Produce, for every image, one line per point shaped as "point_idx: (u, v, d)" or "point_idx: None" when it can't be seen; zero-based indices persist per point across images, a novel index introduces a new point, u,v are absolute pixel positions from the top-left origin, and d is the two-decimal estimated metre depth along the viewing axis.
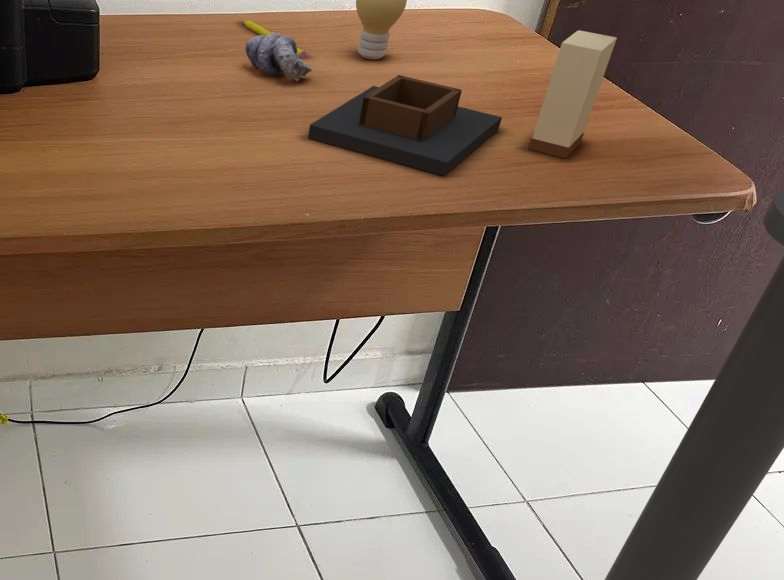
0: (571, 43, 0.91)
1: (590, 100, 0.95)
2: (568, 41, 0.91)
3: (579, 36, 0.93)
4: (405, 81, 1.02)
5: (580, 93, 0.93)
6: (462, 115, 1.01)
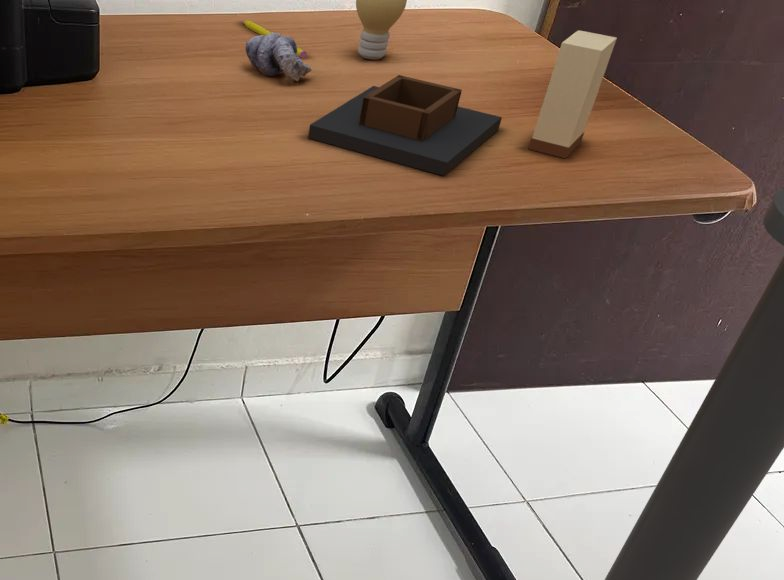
0: (571, 43, 0.91)
1: (590, 100, 0.95)
2: (568, 41, 0.91)
3: (579, 36, 0.93)
4: (405, 81, 1.02)
5: (580, 93, 0.93)
6: (462, 115, 1.01)
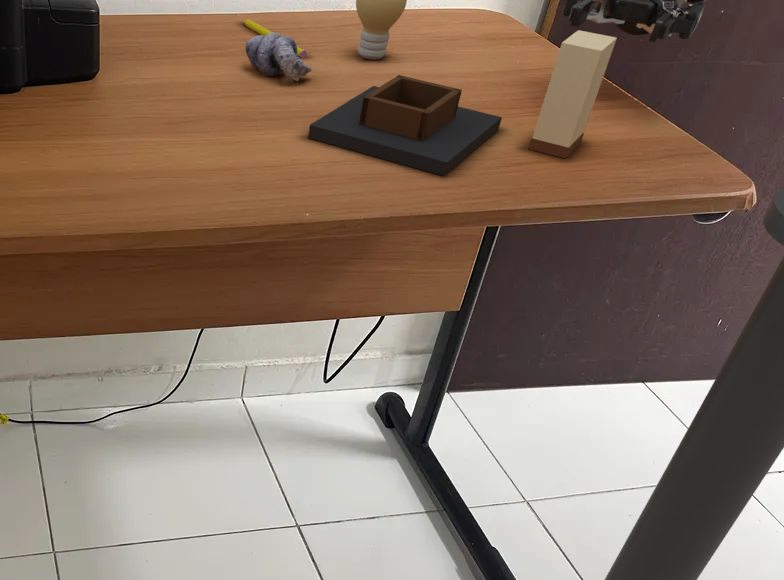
0: (571, 43, 0.91)
1: (590, 100, 0.95)
2: (568, 41, 0.91)
3: (579, 36, 0.93)
4: (405, 81, 1.02)
5: (580, 93, 0.93)
6: (462, 115, 1.01)
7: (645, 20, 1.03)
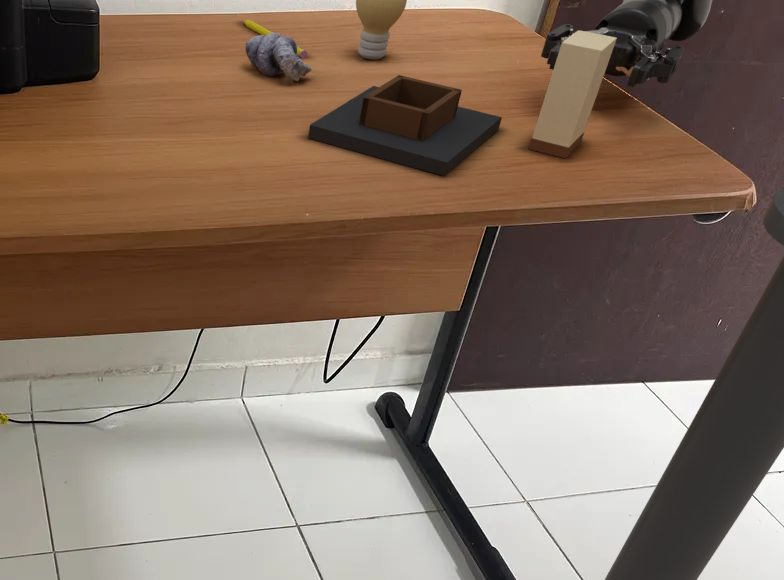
0: (571, 43, 0.91)
1: (590, 100, 0.95)
2: (568, 41, 0.91)
3: (579, 36, 0.93)
4: (405, 81, 1.02)
5: (580, 93, 0.93)
6: (462, 115, 1.01)
7: (624, 63, 1.02)
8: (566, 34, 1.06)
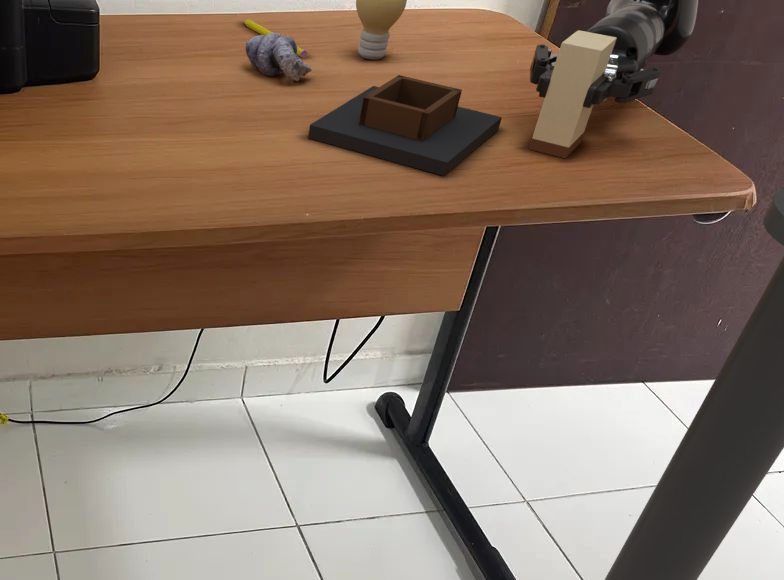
0: (571, 43, 0.91)
1: None
2: (568, 41, 0.91)
3: (579, 36, 0.93)
4: (405, 81, 1.02)
5: (580, 93, 0.93)
6: (462, 115, 1.01)
7: None
8: None
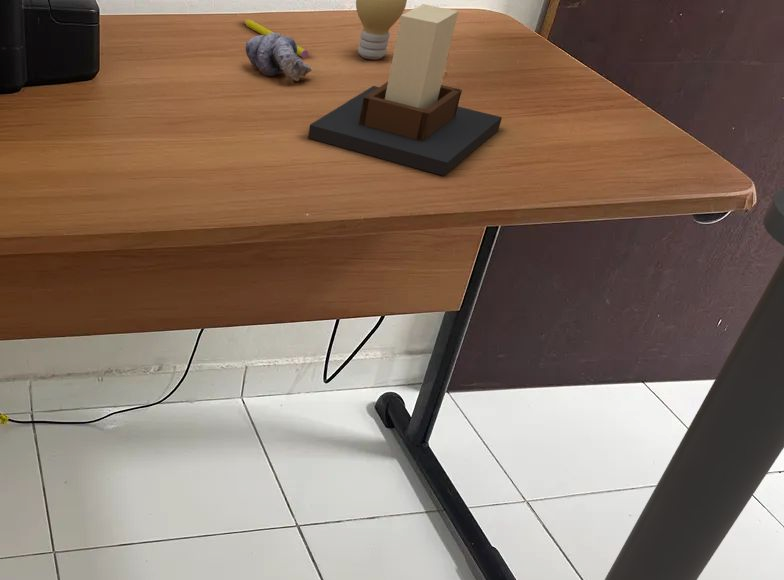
0: (410, 16, 0.92)
1: (435, 74, 0.96)
2: (408, 14, 0.92)
3: (421, 9, 0.94)
4: None
5: (421, 65, 0.93)
6: (462, 115, 1.01)
7: None
8: None
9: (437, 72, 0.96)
